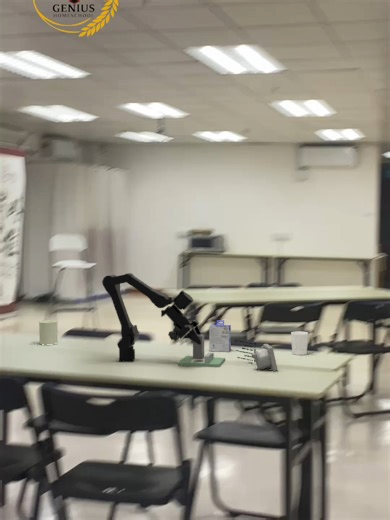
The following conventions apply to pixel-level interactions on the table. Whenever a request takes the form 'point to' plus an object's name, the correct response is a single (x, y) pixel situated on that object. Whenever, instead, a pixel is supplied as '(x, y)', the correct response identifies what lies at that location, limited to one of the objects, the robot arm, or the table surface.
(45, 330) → the can
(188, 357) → the board
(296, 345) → the white cup
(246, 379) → the table surface
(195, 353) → the grey square pillar
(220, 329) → the ink cartridge box
